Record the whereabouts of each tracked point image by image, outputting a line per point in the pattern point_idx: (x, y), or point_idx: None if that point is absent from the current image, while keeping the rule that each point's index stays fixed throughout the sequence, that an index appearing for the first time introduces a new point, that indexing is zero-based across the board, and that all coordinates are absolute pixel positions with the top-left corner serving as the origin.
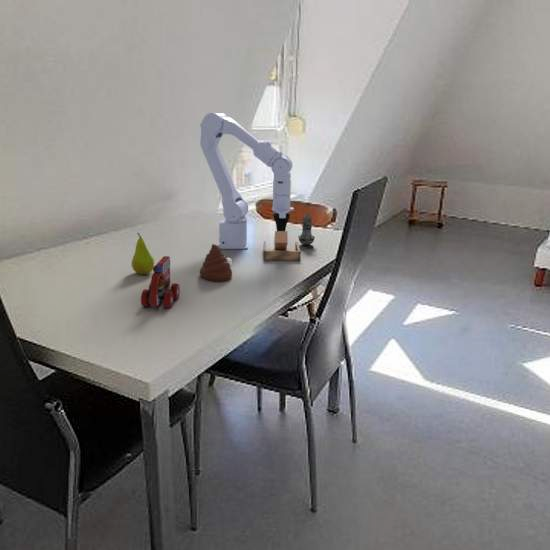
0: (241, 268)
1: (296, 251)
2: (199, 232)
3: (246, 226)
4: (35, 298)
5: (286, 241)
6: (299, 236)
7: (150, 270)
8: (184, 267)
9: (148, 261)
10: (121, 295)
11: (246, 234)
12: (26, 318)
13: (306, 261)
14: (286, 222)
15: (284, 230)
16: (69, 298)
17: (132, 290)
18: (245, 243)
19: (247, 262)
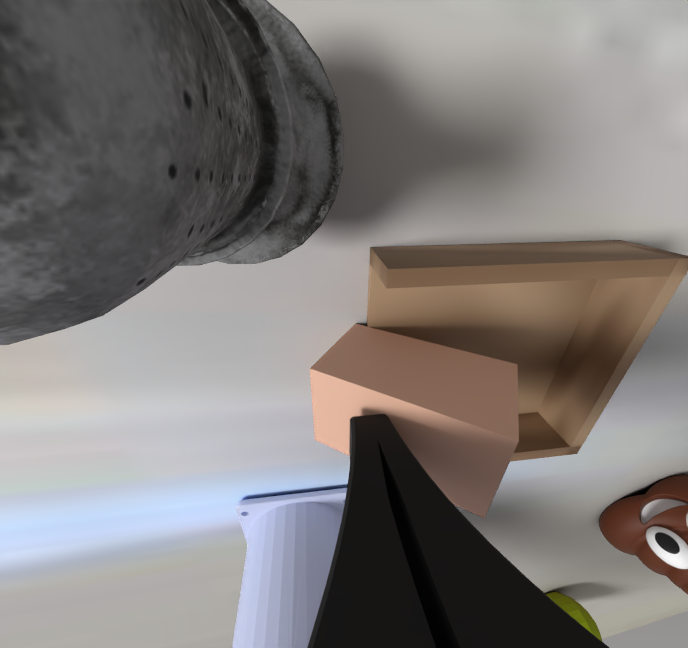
0: (603, 464)
1: (675, 289)
2: (104, 631)
3: (306, 638)
4: (606, 629)
5: (515, 377)
6: (247, 249)
7: (571, 600)
8: (531, 563)
9: (599, 633)
10: (656, 581)
11: (306, 568)
12: (676, 611)
13: (650, 196)
14: (502, 560)
15: (408, 455)
16: (628, 611)
17: (640, 578)
18: (319, 515)
19: (542, 459)
